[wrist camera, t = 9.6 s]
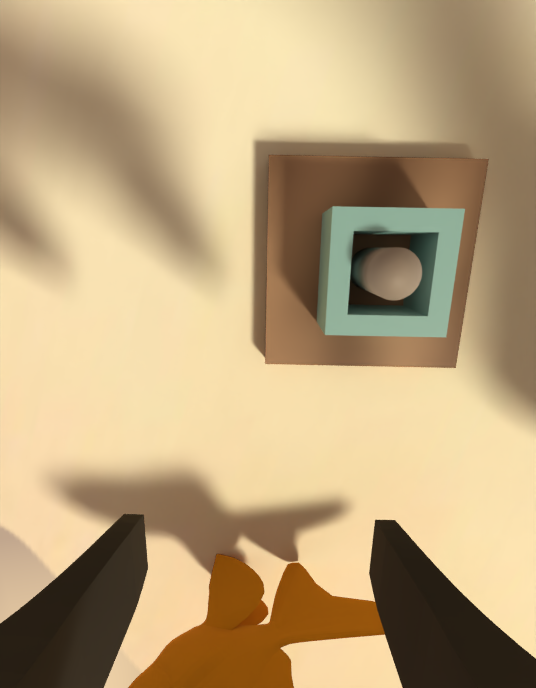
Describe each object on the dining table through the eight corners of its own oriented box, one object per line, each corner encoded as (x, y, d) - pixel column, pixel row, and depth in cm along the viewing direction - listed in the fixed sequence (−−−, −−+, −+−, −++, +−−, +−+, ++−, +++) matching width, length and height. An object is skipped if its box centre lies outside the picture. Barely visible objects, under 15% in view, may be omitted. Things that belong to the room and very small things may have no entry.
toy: (94, 611, 21) (91, 867, 12) (325, 502, 27) (440, 618, 18) (105, 645, 21) (111, 912, 12) (328, 532, 27) (440, 658, 18)
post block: (476, 163, 17) (554, 131, 13) (446, 362, 20) (502, 398, 15) (269, 160, 18) (268, 126, 13) (265, 358, 20) (263, 393, 15)
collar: (432, 215, 17) (464, 208, 14) (418, 323, 18) (446, 337, 16) (322, 213, 17) (332, 206, 14) (316, 321, 18) (325, 335, 16)
